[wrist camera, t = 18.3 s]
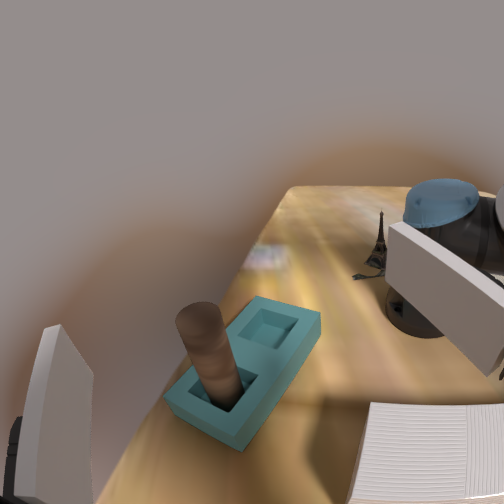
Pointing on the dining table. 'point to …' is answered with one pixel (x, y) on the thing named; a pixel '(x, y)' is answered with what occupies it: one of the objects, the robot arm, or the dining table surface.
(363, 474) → the stack of papers
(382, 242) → the eiffel tower figurine
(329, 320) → the dining table surface
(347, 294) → the dining table surface
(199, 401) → the bore block
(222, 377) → the walnut pin
